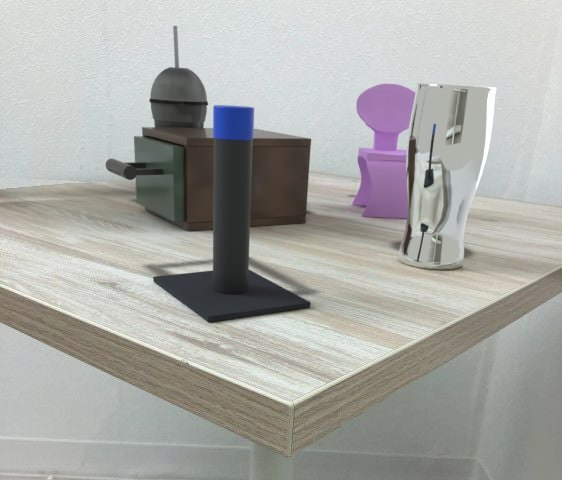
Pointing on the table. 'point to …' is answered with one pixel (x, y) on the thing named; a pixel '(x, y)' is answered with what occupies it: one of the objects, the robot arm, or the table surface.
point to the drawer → (156, 176)
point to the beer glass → (444, 170)
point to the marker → (232, 197)
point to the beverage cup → (178, 96)
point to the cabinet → (264, 180)
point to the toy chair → (384, 151)
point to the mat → (229, 296)
